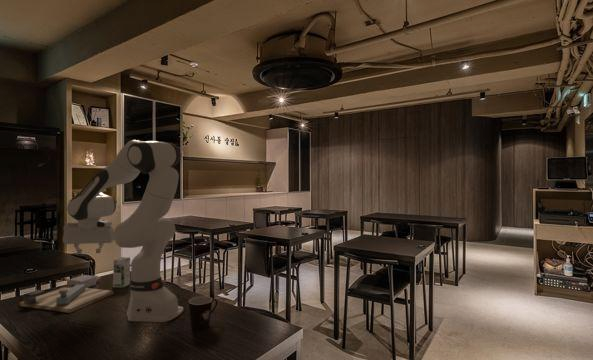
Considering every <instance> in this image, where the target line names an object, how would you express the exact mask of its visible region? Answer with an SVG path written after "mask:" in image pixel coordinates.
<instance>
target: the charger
mask: <svg viewBox="0 0 593 360" xmlns="http://www.w3.org/2000/svg"><path fill="white" fill-rule="evenodd" d="M99 280H101V275H100V276H98V275H89V274H83V275H79V276H77V277H73V278H70V279H67V280H66V286H75V285H82V284H86V288H90V287H94V286H97V281H99Z"/></svg>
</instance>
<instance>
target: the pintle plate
mask: <svg viewBox="0 0 593 360" xmlns="http://www.w3.org/2000/svg"><path fill="white" fill-rule="evenodd" d="M72 287H74V286H67V285H66V286H63V287H59V288H58V289H54V290H52V291H49V292H46V291H45V290H43V289H36V290H31V291H30V292H27V293H24V294H23V301H20V302H19V306H20V307H25V308H32V309H40V310H48V311H54V312H61V313H68V314H71V313H73V312H76V311H77V310H80V309H82V308H85V307H87V306H89V305H91V304H94V303H95V302H98V301H100V300H103V299H105V298H107V297H110V296H112V295H114V290H109V289H100V288H99V289H98V288H90V287H88V288H86V290H84V291H83V292H82V293H80V294H79V295H78V296H77V297H75V298H74V299H73V300H71V302H70V303H68V304H65V305H56V298H57V297H59V296H61V298H63V297H66V292H68V290H70V289H71V288H72Z"/></svg>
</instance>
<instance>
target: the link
mask: <svg viewBox="0 0 593 360" xmlns="http://www.w3.org/2000/svg"><path fill="white" fill-rule="evenodd" d="M84 290H86V284H82V285H75V286H74V287H72V288H71V289H70V290H68V292H66V297H63V298H61V296H59V297H57V298H56V305H65V304H68V303H70V302H71V300H73V299H74V298H75V297H77V296H78V295H79V294H80V293H82V292H83V291H84Z"/></svg>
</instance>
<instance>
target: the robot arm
mask: <svg viewBox="0 0 593 360" xmlns="http://www.w3.org/2000/svg"><path fill="white" fill-rule="evenodd" d="M181 157H182V154H181V150H180V148H179V146H178V145H177V144H174V143H172V142H168V141H165V142H164V141H157V140H147V141H143V140H139V139H137V140H136V139H132V140H128V142H126V144H125V145H124V146H123V147H122V148H121V149H120V150H119V152H118V153H117V155H116V156H115V157H114V159H113V160H112V161H111V162H110V163H109V164H108V165H107V166H105V167H104V168H102V169H100V170H99V171H98V172H96V173H95V174H94V175H93V176H92V177H91V178H90V179H89V181H87V183H86V184H85V186H84V187H82V188H81V189H79V191H78V194H76V195H74V196H73V197H72V198H71V199H70V200H69V202H68V204H67V213H68V215H69V216H71V218H73V219H74V220H76V221H77V222H69V223H68V222H67V223H66V224H64V226H63V236H62V237H63V238H62V242H63V244H64V245H73V247H74V249H75V250H76V254H82V253H83V249H82V248H80V245H81V244H82V245H84V244H98V246H99V247H98V248H96V249H95V253H96V254H100V253H101V251H102V248H103V247H104V245H105V244H111V243H113V242H115V244H116V245H117V246H118V247H119V248H124V249H125V248H127V249H134V248H139V247H141V250H140V251H139V253H138V254H136V255H135V256H134V257H133V258H132V260H131V261H130V285H129V289H130V293H129V301H128V307H127V310H126V317H127V321H128V322H145V323H166V322H168V321H171V320H173V319H176V318H177V317H178V316H180V315H182V313H183V312H184V307H183V306H180V305H179V304H178V303H179V302H178V298H177V295H176V294H174V293H173V292H171V291H170V290H169V289H168V288H167V287H165V285H164V283H166V280H167V279H166V278H165V279H163V278H162V276H161V263H162V256H163V253H164V250H165V248H166V246H167V244H168V243H169V242H170V241H171V240H172V239H173V237H174V235H175V234H176V225H175V222H174V221H173V220H172V219H171V218H169V217H165V216H166V215H168V213H169V211H170V209H171V206H172V203H173V200H174V198H175V195H176V192H177V188H178V184H179V177H180V174H179V172H178V170H177V169H175V166H177V165H178V164H179V163H180V160H181ZM139 174H144V175H145V174H146V175H147V174H148V176H149V179H148V182H147V184H146V188H145V191H144V193H143V196H142V199H141V200H140V203H139V204H138V207H137V208H136V209H135V210H134V211H133V212H132V214H130V215H129V216H128V217H127V218H126V219H125V220H124V221H122V222H120V223H118V224H117V225H116V227H115V228H113V227H112V225H113V222H112V220H109V219H106V218H105V217H109V216H112V215H114V213H115V212H116V208H117V202H116V200H115V198H114V197H113V196H112V195H108V194H106V193H104V192H102V191H104V190H105V189H108V188H111V187H114V186H119V185H125V184H128V183H130V182H133V181H134V180H135V179H136V178H137V177H138V176H139Z"/></svg>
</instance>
